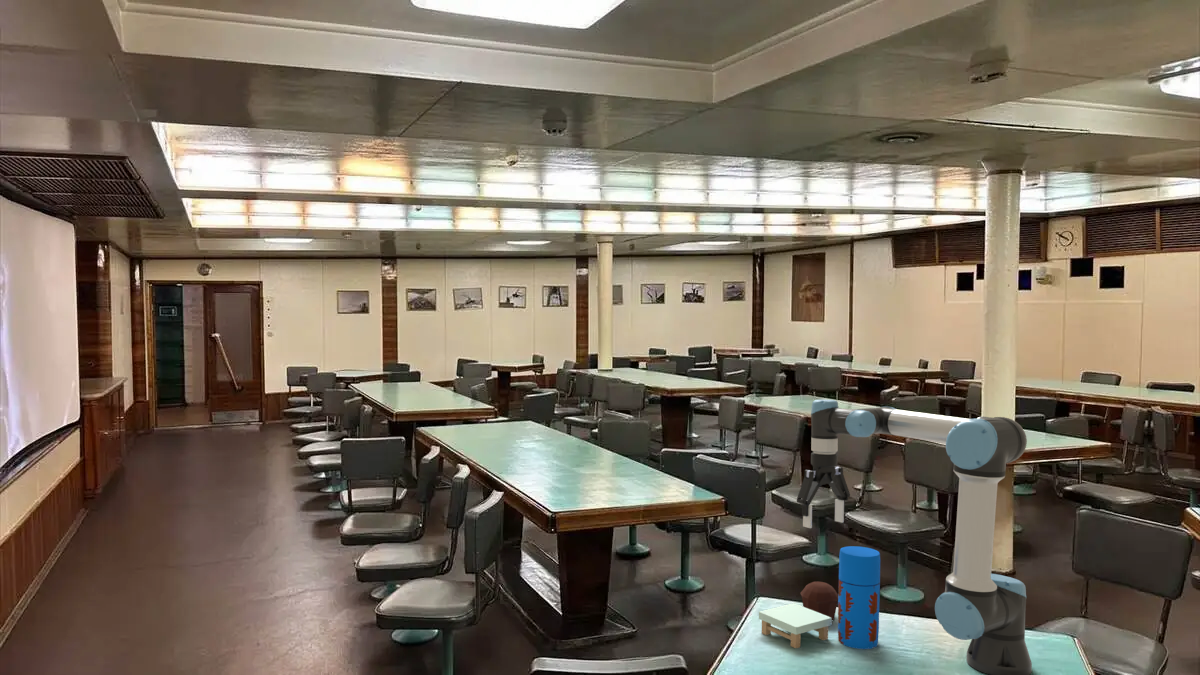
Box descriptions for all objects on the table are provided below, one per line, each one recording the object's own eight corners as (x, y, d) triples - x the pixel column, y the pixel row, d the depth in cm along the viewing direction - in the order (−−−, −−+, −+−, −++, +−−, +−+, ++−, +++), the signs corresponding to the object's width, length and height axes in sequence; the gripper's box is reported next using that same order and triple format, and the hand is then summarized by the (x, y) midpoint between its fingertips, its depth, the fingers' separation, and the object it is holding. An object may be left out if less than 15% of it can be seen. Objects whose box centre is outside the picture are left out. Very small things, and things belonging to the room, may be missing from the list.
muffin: (843, 624, 243) (844, 590, 242) (805, 623, 243) (806, 589, 243) (832, 610, 254) (833, 577, 254) (796, 609, 255) (797, 577, 255)
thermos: (873, 635, 234) (875, 547, 234) (882, 650, 224) (884, 557, 223) (834, 633, 235) (836, 545, 235) (841, 648, 225) (843, 555, 224)
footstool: (831, 639, 231) (831, 617, 231) (795, 649, 223) (796, 627, 223) (793, 623, 243) (793, 603, 242) (758, 632, 235) (758, 611, 235)
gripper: (842, 447, 255) (842, 517, 255) (784, 453, 241) (783, 527, 241) (862, 450, 249) (862, 521, 249) (804, 457, 235) (803, 532, 235)
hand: (823, 524), depth 245 cm, fingers open, 13 cm apart
